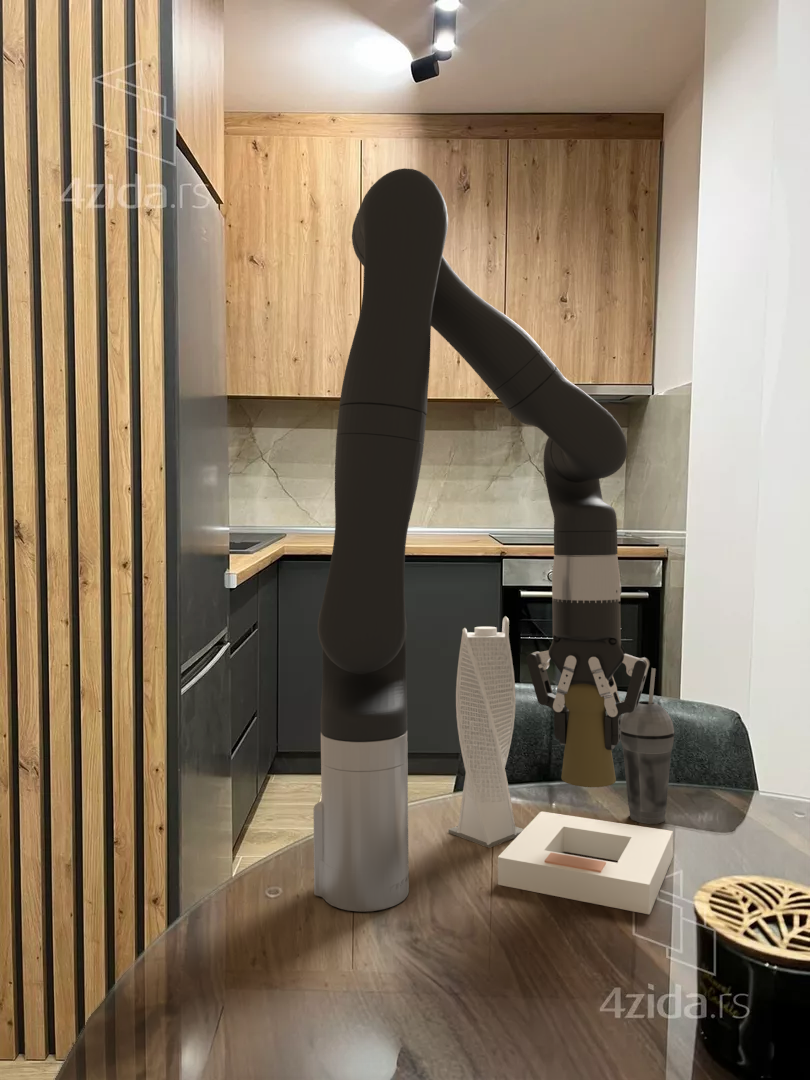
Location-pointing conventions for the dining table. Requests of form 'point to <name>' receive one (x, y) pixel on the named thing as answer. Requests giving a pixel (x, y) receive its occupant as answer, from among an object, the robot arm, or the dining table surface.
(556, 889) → the hole board
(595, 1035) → the dining table surface
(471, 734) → the skyscraper
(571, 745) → the cork
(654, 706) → the beverage cup
